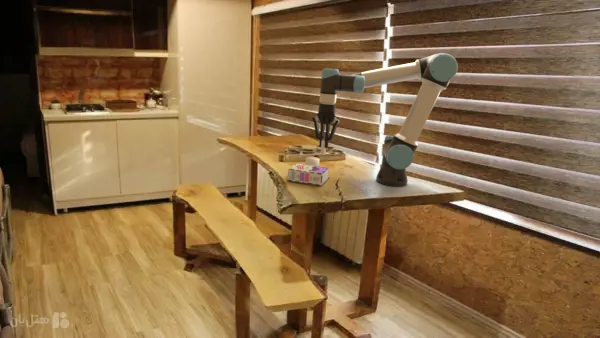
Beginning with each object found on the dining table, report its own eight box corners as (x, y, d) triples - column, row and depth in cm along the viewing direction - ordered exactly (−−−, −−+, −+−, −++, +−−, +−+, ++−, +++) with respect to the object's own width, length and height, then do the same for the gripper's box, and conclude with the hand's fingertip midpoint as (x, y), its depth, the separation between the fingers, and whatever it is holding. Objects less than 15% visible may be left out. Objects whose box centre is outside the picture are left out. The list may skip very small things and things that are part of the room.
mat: (329, 178, 227) (329, 177, 226) (316, 186, 210) (316, 185, 210) (306, 174, 231) (306, 173, 231) (292, 181, 215) (292, 181, 214)
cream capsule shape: (320, 171, 239) (321, 158, 237) (315, 174, 233) (316, 160, 231) (308, 169, 242) (309, 156, 240) (302, 171, 235) (303, 158, 234)
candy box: (322, 173, 208) (287, 168, 212) (321, 186, 210) (287, 181, 214) (328, 167, 222) (295, 162, 225) (327, 179, 223) (294, 174, 227)
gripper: (343, 104, 210) (338, 155, 216) (316, 101, 215) (312, 151, 221) (338, 105, 204) (333, 157, 209) (311, 102, 208) (306, 153, 214)
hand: (322, 154), depth 215 cm, fingers closed
